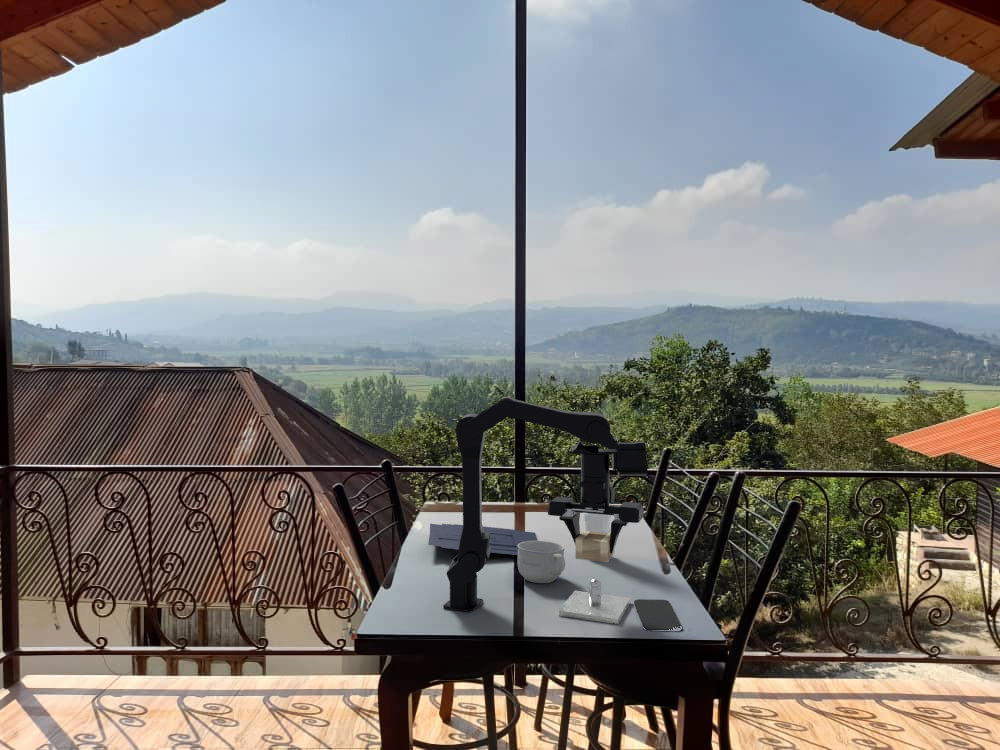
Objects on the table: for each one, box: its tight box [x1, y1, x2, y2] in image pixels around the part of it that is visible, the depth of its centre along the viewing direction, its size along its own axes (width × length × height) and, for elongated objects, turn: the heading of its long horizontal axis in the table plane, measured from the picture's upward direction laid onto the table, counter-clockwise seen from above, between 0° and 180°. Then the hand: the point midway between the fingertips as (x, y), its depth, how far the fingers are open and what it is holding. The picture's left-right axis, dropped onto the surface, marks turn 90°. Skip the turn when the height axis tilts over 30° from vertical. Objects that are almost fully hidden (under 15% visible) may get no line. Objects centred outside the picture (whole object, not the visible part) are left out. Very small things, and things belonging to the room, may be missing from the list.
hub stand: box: [558, 578, 631, 625], centre depth 144 cm, size 12×12×6 cm
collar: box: [575, 530, 615, 563], centre depth 143 cm, size 6×6×4 cm
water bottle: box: [582, 504, 612, 533], centre depth 178 cm, size 7×7×25 cm
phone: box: [633, 598, 682, 631], centre depth 140 cm, size 7×1×15 cm
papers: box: [427, 523, 539, 556], centre depth 187 cm, size 24×30×4 cm
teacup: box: [517, 540, 566, 584], centre depth 160 cm, size 14×11×8 cm
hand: (595, 551), depth 143 cm, fingers closed on collar, 6 cm apart
